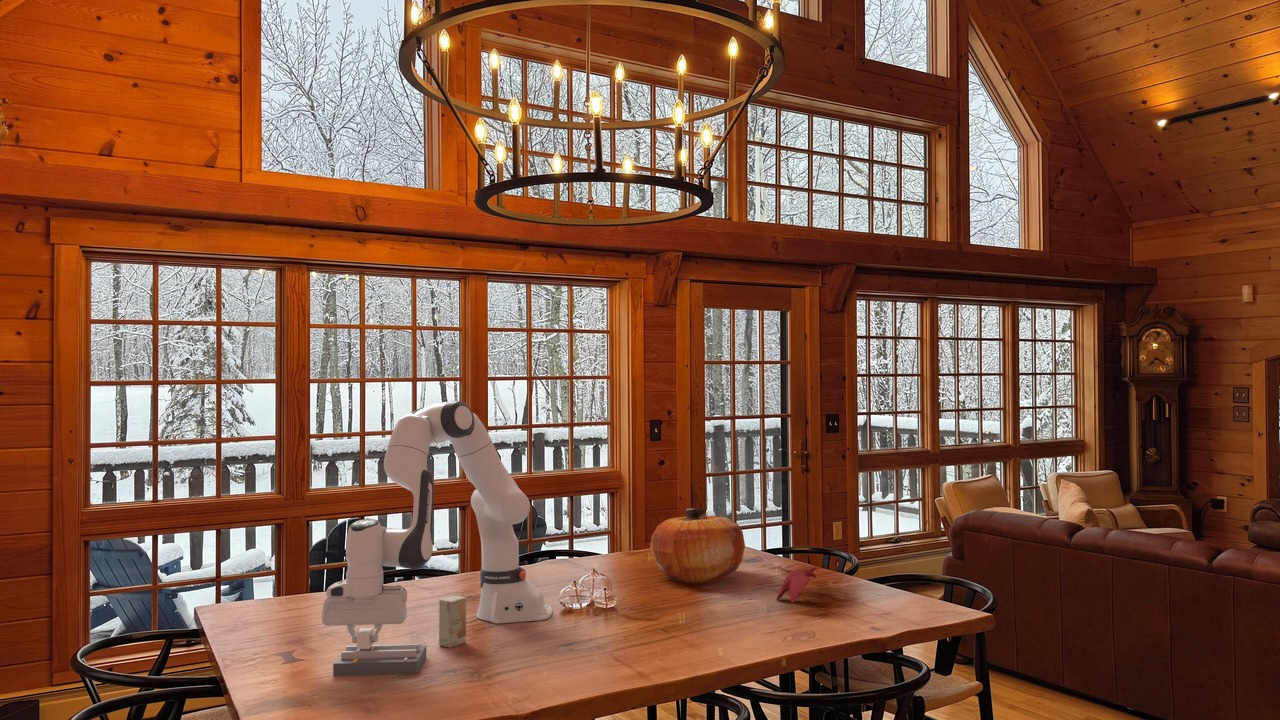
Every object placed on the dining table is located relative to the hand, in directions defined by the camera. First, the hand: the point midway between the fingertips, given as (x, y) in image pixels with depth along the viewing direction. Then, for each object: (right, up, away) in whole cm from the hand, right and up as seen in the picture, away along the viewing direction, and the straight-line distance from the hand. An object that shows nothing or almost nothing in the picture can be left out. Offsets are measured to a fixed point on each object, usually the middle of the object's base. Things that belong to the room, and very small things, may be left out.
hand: (365, 642), depth 215 cm
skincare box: (+18, -7, +18) cm, 26 cm away
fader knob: (0, -3, 0) cm, 3 cm away
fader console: (+4, -6, 0) cm, 7 cm away
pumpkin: (+89, -7, +90) cm, 127 cm away
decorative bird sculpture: (+118, -6, +58) cm, 131 cm away
